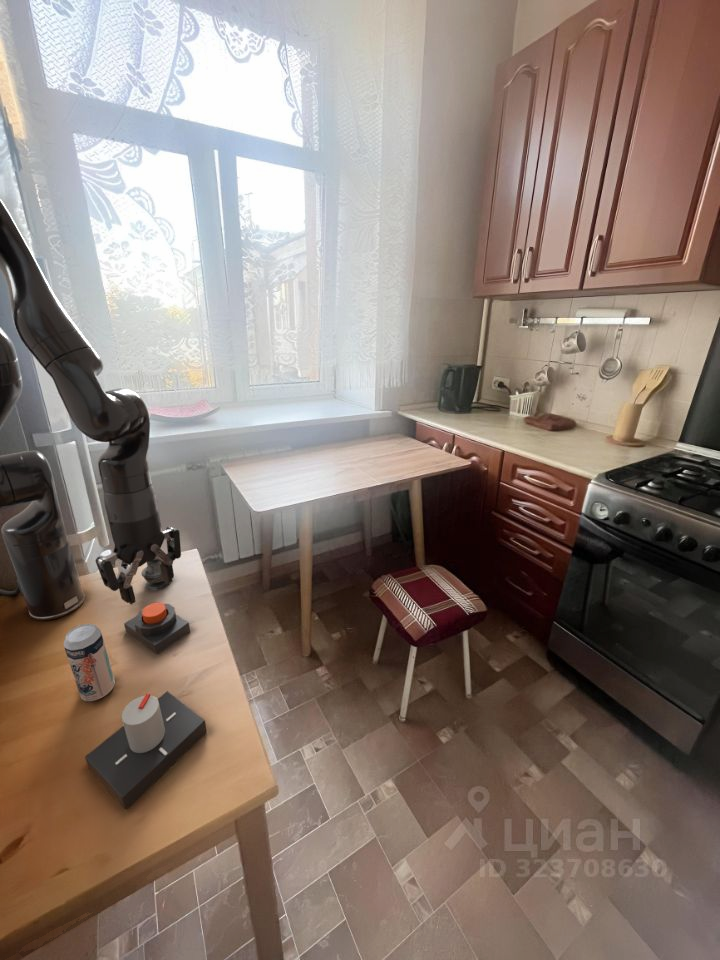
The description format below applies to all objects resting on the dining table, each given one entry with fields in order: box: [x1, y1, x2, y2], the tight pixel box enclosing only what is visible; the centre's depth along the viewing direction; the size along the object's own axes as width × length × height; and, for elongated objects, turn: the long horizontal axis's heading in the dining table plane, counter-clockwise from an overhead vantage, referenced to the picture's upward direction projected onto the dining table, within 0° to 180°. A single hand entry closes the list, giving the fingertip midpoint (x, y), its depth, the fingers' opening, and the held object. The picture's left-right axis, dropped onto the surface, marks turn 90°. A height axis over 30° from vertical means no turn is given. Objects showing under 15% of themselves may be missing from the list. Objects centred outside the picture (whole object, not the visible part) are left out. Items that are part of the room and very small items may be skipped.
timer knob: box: [121, 693, 165, 753], centre depth 53 cm, size 4×4×6 cm
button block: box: [123, 603, 191, 655], centre depth 75 cm, size 10×7×4 cm
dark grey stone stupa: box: [140, 557, 171, 591], centre depth 88 cm, size 6×6×12 cm
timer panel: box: [84, 691, 208, 811], centre depth 55 cm, size 9×12×3 cm
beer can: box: [63, 623, 116, 702], centre depth 62 cm, size 5×5×12 cm
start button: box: [141, 602, 167, 624], centre depth 74 cm, size 4×4×2 cm
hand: (149, 591), depth 73 cm, fingers open, 6 cm apart
